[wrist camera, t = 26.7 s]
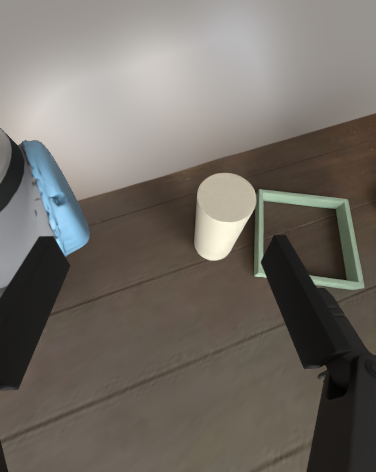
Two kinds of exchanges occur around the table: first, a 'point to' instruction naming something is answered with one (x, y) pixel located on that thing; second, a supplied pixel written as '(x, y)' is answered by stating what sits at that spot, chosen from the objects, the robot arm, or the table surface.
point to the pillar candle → (221, 213)
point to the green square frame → (345, 232)
